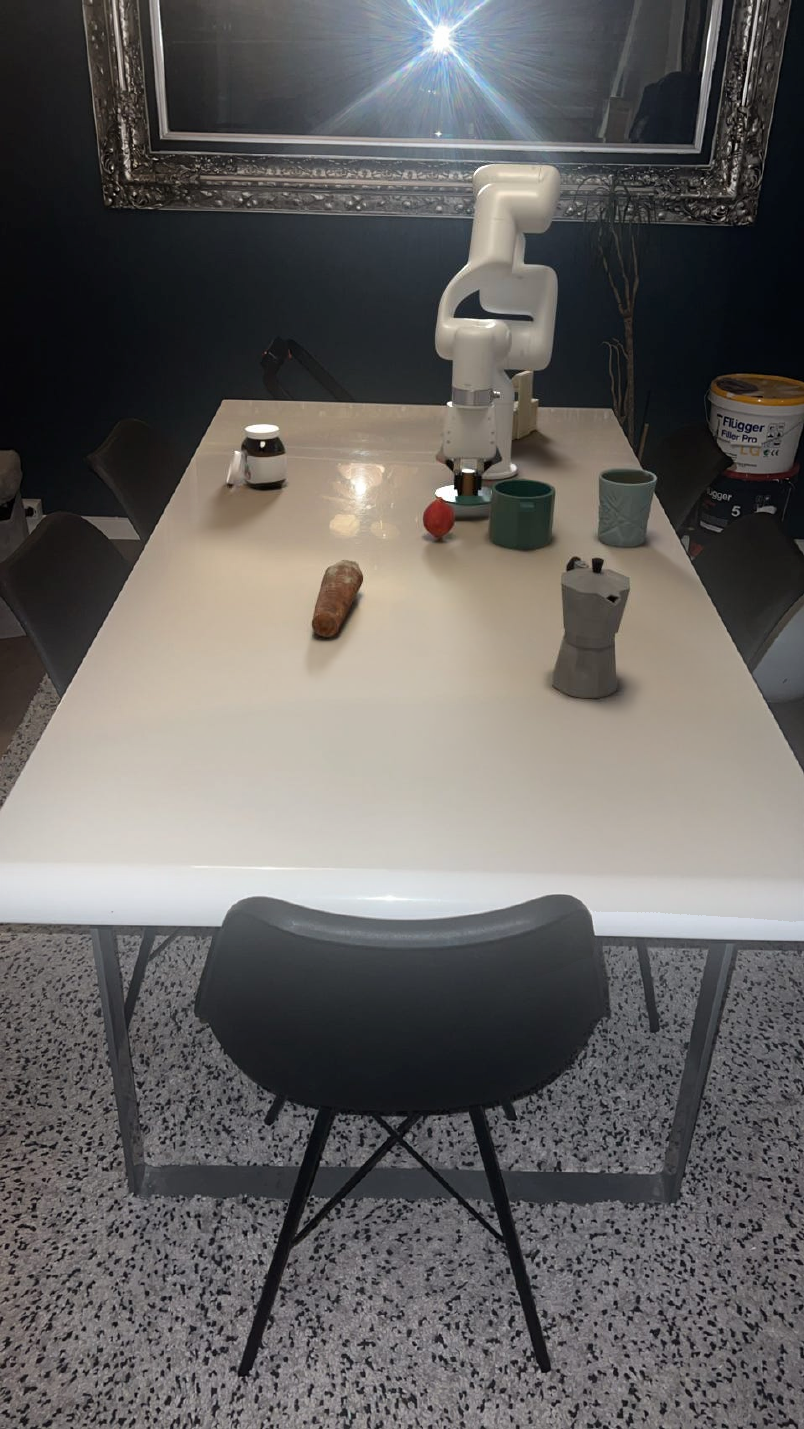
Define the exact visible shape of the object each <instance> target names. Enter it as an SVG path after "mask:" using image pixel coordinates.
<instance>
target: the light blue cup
mask: <svg viewBox="0 0 804 1429" xmlns="http://www.w3.org/2000/svg"><path fill="white" fill-rule="evenodd" d="M657 481H658V477H657V476H656V474H654V472H653V473H652V471H648V470H646V469H640V468H634V467H614V468H613V467H612V468H608V469H604V470H602V471H600V472H599V474H598V501H599V504H598V525H597V526H598V527H597V538H598V540H599V541H600V542H601V543H603V544H605V545H608V546H612V547H616V548H617V547H619V548H633V547H639V546H641V545H642V544H644V542H645V541H646V536H647V530H648V522H649V518H650V514H651V508H652V502H653V499H654V495H655V490H656V485H657Z"/></svg>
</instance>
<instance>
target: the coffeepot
mask: <svg viewBox="0 0 804 1429" xmlns="http://www.w3.org/2000/svg"><path fill="white" fill-rule="evenodd" d="M604 563H605V559H603V558H601V557H593V558H591V567H589V566H590V565H589V564H588V563H587V561H585V560H582V558H580V557H579V556H572V557H571V558H570V559H569V561H568V562H567V563H566V566H565V571H564V572H561V581H560V585H561V586H560V587H561V603H562V604H561V606H562V621H563V629H564V632H563V635H562V639H561V643H560V647H559V651H558V653H557V657H556V661H555V665H554V668H553V672H552V680H551V681H552V682H551V685H552V686H553V687H554V688H555V689H556V690H557V691H558V692H561V693H562V694H564V695H567V696H570V697H574V698H580V699H600V698H605V697H607V696H610V695H612V694H613V693H614V692H616V691H617V690H618V687H617V686H618V685H617V661H616V660H617V659H616V634H618V633H619V629H620V626H621V622H622V619H623V616H624V611H625V608H626V605H627V602H628V598H629V594H630V592H631V579H630V577H629V576H627V575H624V574H623V573H620V572H618V571H615V570H612V569H610V568H603V565H604Z"/></svg>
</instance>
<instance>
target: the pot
mask: <svg viewBox="0 0 804 1429" xmlns="http://www.w3.org/2000/svg"><path fill="white" fill-rule="evenodd" d="M490 488H491V497H490V504H489V516H488V533H487V534H488V540H489V541H490V542H491V543H492V544H494V545H495V546H498V547H502V548H506V549H511V550H512V549H513V550H522V551H523V550H536V549H541V548H544V547H547V546H548V545H549V544H550V543H551V542H552V538H553V537H552V536H553V525H554V515H555V514H554V513H555V505H556V504H555V503H556V492H557V491H556V488H555V486H553V485H551V484H550V483H547V482H544V481H540V480H536V479H529V478H528V479H527V478H514V477H513V478H511V479H502V480H500V481H496V482H494V483H493V484H492V485H491V486H490Z"/></svg>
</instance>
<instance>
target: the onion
mask: <svg viewBox="0 0 804 1429" xmlns="http://www.w3.org/2000/svg"><path fill="white" fill-rule="evenodd" d="M455 520H456V518H455V512H454V510H453V508H452V506H450V505H449V503H446V502H444V501H443V497H442V496H440V497H438V498H436V499H435V500H433V501H431V503H430V504H429V505H428V506H427V507H426V508H425V509H424V511H423V514H422V523H423V527H424V529H425V530H426V531H427V532H428V533H429V534H430V535H432V536H433V537H434V538H436V539H442V538H444V536H446V535H447V534H448V533H449V532H450V531H452V529H453V528H454V526H455V522H456V521H455Z"/></svg>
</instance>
